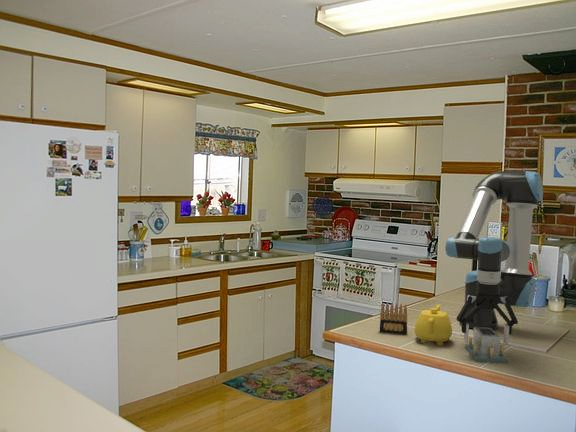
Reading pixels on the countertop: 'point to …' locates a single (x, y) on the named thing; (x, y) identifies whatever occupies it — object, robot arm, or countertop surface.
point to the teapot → (433, 326)
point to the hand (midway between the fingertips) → (485, 342)
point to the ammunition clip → (393, 320)
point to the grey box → (486, 341)
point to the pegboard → (479, 358)
